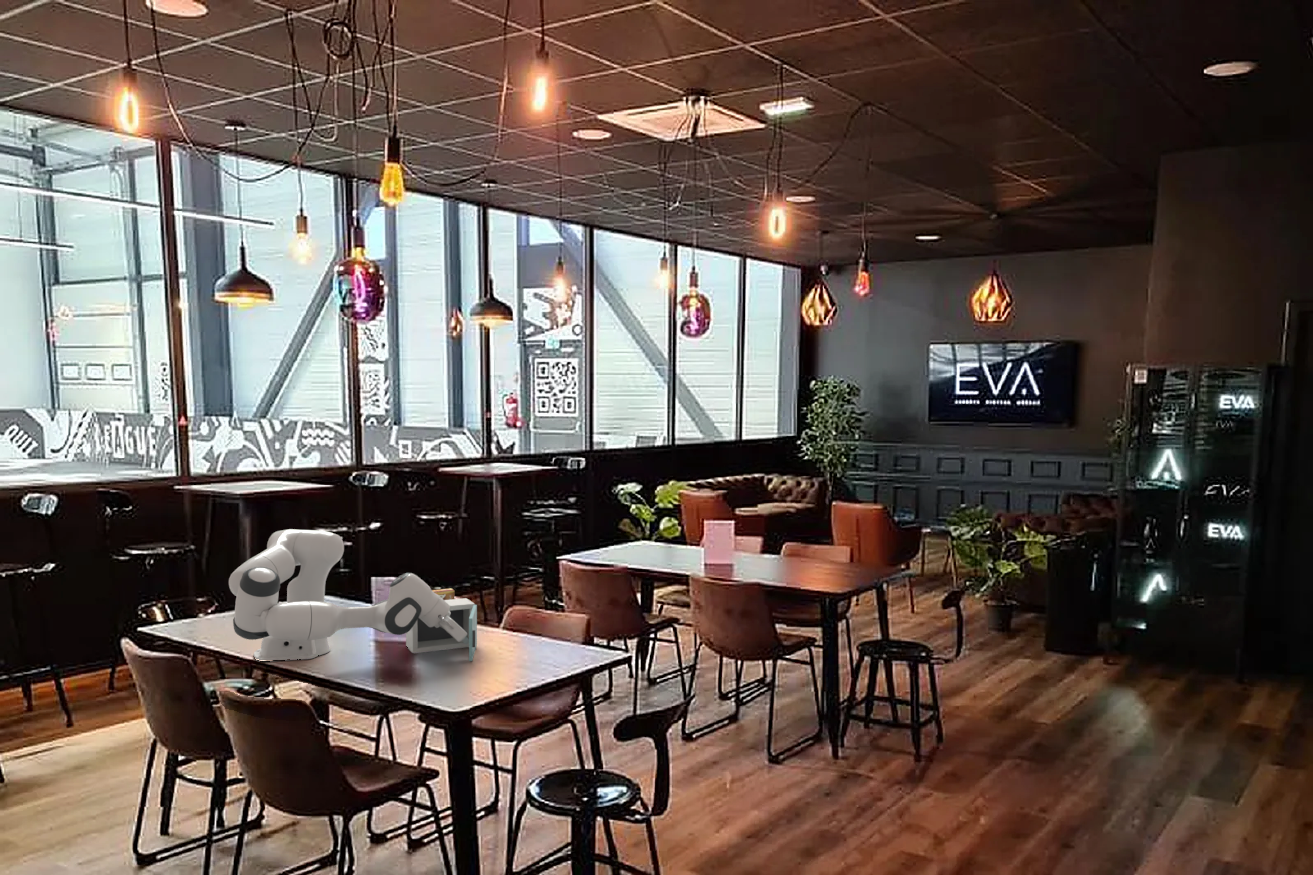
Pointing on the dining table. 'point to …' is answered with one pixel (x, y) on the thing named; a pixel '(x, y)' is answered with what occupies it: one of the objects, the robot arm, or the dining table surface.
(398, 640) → the dining table surface
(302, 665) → the dining table surface
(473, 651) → the door
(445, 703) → the dining table surface
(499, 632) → the dining table surface
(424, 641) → the case
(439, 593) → the candy box
